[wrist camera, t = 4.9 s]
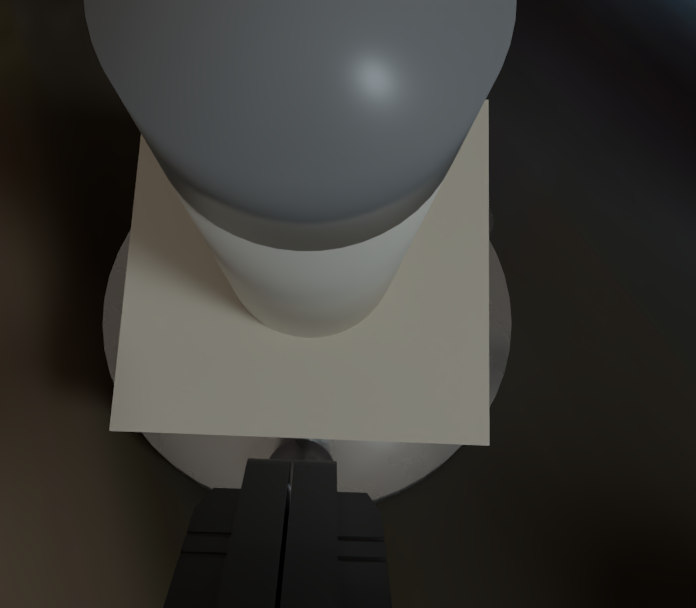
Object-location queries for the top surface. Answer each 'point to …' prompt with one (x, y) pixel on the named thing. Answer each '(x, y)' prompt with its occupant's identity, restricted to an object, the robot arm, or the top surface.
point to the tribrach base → (351, 455)
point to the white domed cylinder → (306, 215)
